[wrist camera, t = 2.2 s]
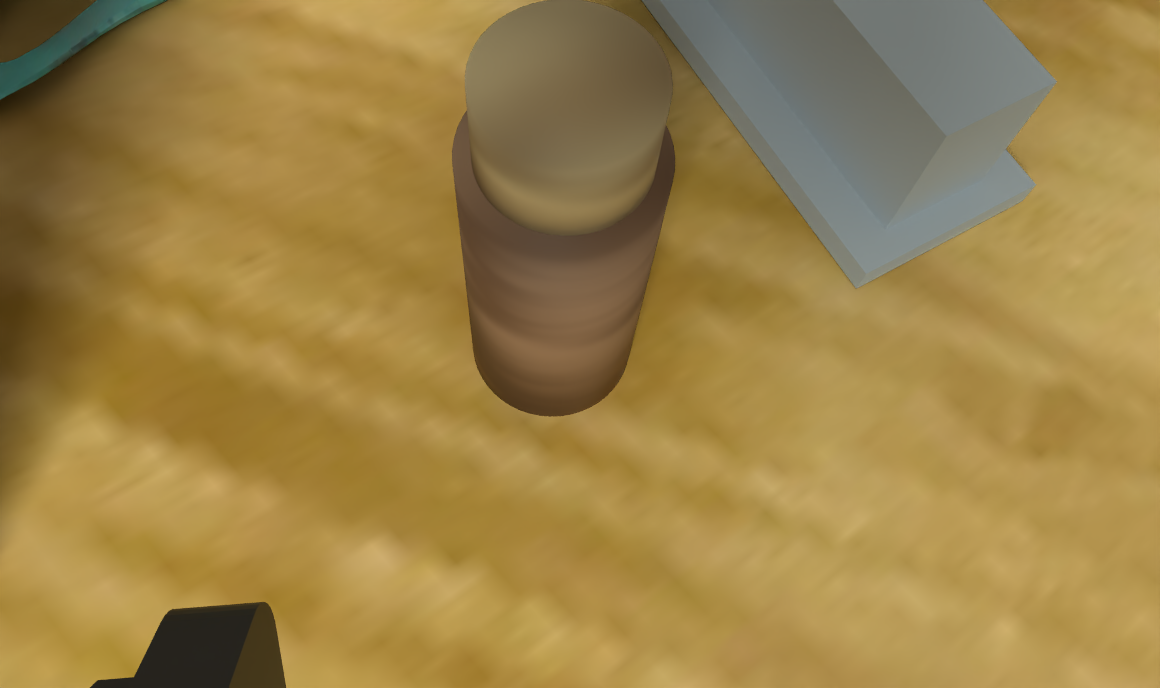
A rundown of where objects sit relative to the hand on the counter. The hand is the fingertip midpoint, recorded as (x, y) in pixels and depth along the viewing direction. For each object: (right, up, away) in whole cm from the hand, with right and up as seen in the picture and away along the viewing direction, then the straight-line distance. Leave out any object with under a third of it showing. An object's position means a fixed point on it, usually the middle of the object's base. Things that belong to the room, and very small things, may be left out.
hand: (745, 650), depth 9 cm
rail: (+5, +14, +27) cm, 31 cm away
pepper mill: (-2, +3, +22) cm, 22 cm away
